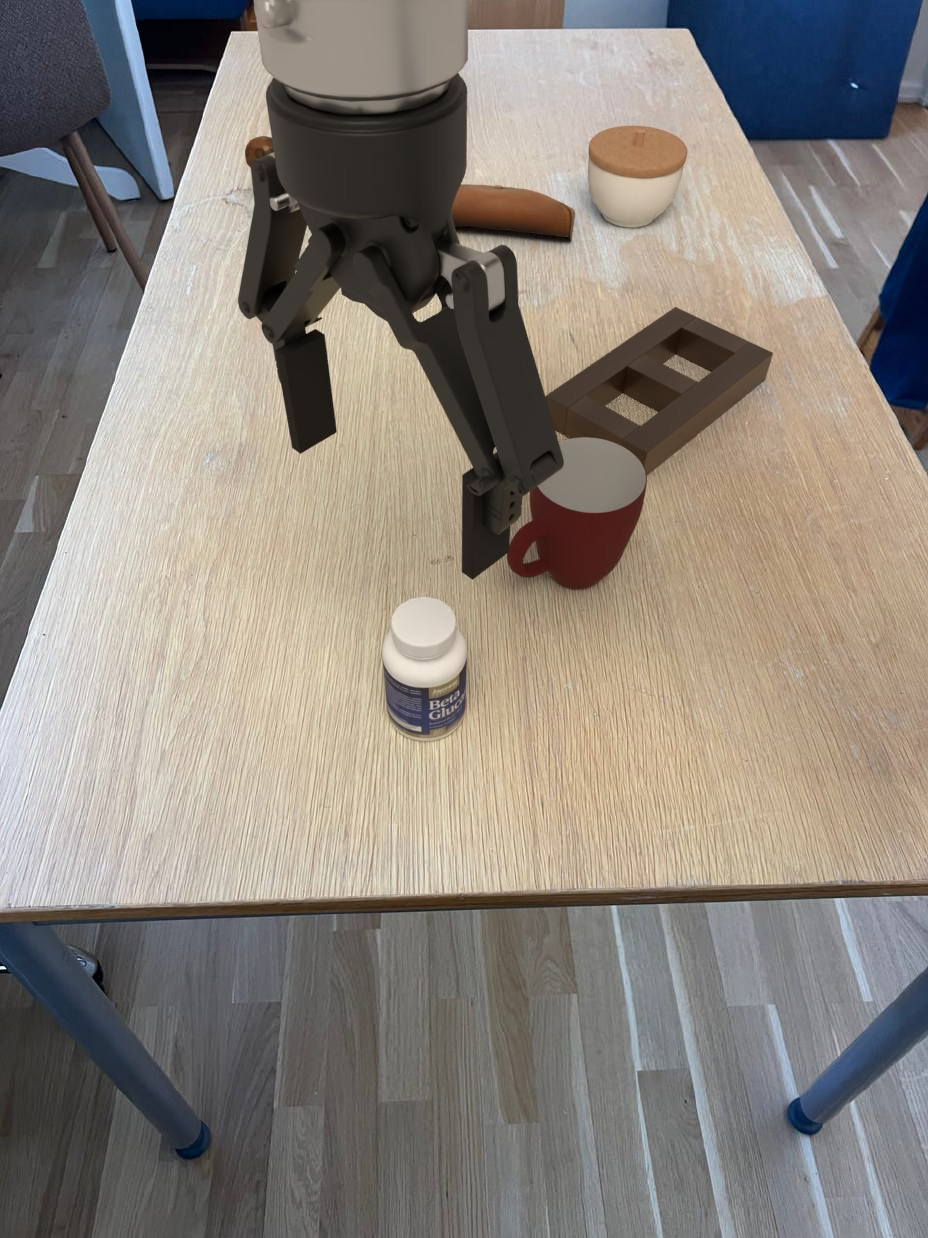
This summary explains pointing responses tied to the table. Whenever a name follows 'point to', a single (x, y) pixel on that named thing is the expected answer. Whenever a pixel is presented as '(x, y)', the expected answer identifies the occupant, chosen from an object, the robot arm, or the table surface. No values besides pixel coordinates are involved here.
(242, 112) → the table surface
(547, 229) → the sunglasses case
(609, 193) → the trinket box
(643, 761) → the table surface
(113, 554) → the table surface
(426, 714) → the pill bottle
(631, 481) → the mug
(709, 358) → the holder
